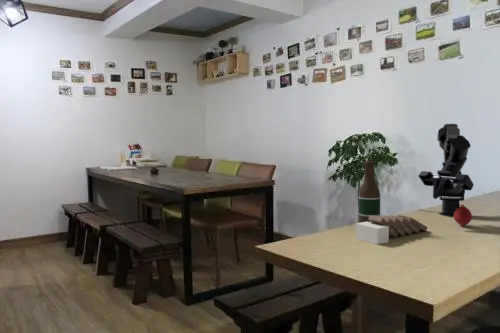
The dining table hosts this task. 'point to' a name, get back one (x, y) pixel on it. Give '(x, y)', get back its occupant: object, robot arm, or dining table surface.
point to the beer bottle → (368, 195)
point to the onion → (462, 215)
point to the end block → (372, 232)
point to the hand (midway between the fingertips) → (434, 198)
